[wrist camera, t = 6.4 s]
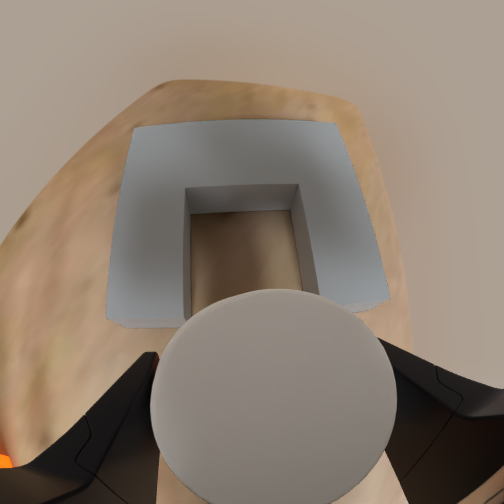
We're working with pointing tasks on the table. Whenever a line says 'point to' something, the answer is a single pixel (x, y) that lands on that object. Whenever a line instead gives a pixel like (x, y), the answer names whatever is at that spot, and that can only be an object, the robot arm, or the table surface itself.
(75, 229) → the table surface
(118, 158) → the table surface
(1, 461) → the orange juice
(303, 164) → the notched board
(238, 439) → the pill bottle
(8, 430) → the table surface
